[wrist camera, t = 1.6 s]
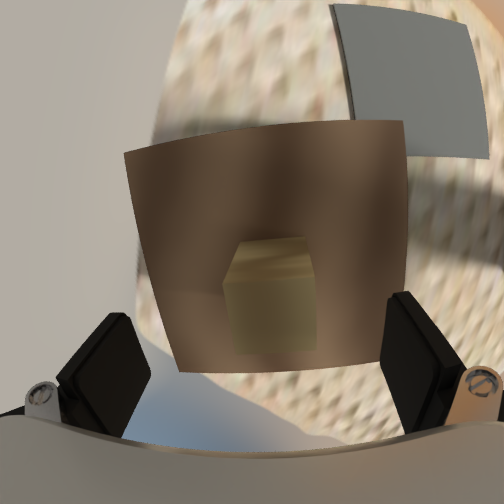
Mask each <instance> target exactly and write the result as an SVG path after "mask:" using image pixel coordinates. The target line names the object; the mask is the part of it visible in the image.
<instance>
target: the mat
mask: <svg viewBox="0 0 504 504" xmlns="http://www.w3.org/2000/svg"><path fill="white" fill-rule="evenodd" d="M333 7H334V11H335V15H336V19H337V23H338V27H339V31H340V36H341V40H342V45H343V50H344V55H345V60H346V65H347V71H348V77H349V82H350V89H351V95H352V102H353V109H354V117H355V120H403V124H404V134H405V145H406V156H434V157H460V158H476V159H489V143H488V130H487V120H486V112H485V104H484V98H483V92H482V86H481V80H480V75H479V71H478V66H477V62H476V58H475V54H474V50H473V46H472V42H471V39H470V35H469V32H468V29H467V26H466V25H465V24H461V23H458V22H455V21H451V20H447V19H443V18H439V17H435V16H431V15H426V14H422V13H417V12H411V11H406V10H400V9H393V8H386V7H377V6H367V5H354V4H333Z"/></svg>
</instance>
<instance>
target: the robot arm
mask: <svg viewBox="0 0 504 504" xmlns="http://www.w3.org/2000/svg"><path fill="white" fill-rule="evenodd" d="M380 366H381V369H382V371H383V374H384V377H385V379H386V382H387V384H388V387H389V390H390V392H391V395H392V398H393V401H394V403H395V406H396V409H397V412H398V415H399V418H400V420H401V423H402V426H403V429H404V432H405V435H401V436H397V437H393V438H388V439H383V440H378V441H372V442H366V443H360V444H354V445H347V446H340V447H333V448H324V449H315V450H303V451H288V452H287V451H286V452H221V451H205V450H193V449H184V448H176V447H168V446H161V445H155V444H148V443H142V442H136V441H131V440H127V439H122V438H121V437H122V435H123V433H124V430H125V428H126V427H127V425H128V422H129V420H130V418H131V416H132V414H133V412H134V409H135V408H136V406H137V404H138V402H139V400H140V398H141V396H142V394H143V392H144V389H145V387H146V385H147V383H148V381H149V379H150V377H151V370H150V367H149V365H148V363H147V360H146V358H145V355H144V353H143V350H142V348H141V345H140V343H139V340H138V338H137V335H136V332H135V329H134V327H133V324H132V321H131V319H130V317H128V316H127V315H126V314H125V313H110V314H108V316H107V317H106V318H105V319H104V320H103V321H102V322H101V323H100V325H99V326H98V327H97V328H96V329H95V331H94V332H93V333H92V334H91V335H90V336H89V337H88V339H87V340H86V341H85V342H84V343H83V344H82V346H81V347H80V348H79V349H78V350H77V352H76V353H75V354H74V355H73V356H72V358H71V359H70V360H69V361H68V363H67V364H66V365H65V366H64V367H63V369H62V370H61V371H60V372H59V374H58V375H57V376H56V379H57V381H58V382H59V384H60V385H59V386H58V387H57V386H56V385H55V384H54V383H52V382H47V381H46V382H41V383H38V384H36V385H35V386H33V387H32V388H31V389H30V390H29V391H28V393H27V395H26V398H25V405H24V406H22V407H19V408H16V409H14V410H11V411H9V412H6V413H3V414H0V504H504V390H503V382H502V379H501V377H500V376H499V374H498V373H497V372H496V371H494V370H493V369H491V368H488V367H486V366H473V367H471V368H469V369H467V368H466V367H465V365H464V364H463V362H462V361H461V360H460V358H459V357H458V355H457V354H456V352H455V351H454V349H453V348H452V347H451V345H450V344H449V342H448V341H447V340H446V338H445V337H444V335H443V334H442V333H441V331H440V330H439V329H438V327H437V326H436V325H435V324H434V323H433V321H432V320H431V319H430V317H429V316H428V315H427V313H426V312H425V311H424V309H423V308H422V307H421V306H420V304H419V303H418V302H417V300H416V299H415V298H414V297H413V295H412V294H411V293H410V292H409V291H403V292H396V293H393V294H392V297H391V298H388V300H387V307H386V316H385V324H384V332H383V339H382V346H381V353H380Z"/></svg>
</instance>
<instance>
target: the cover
mask: <svg viewBox="0 0 504 504" xmlns="http://www.w3.org/2000/svg"><path fill="white" fill-rule="evenodd" d="M124 158H125V165H126V171H127V177H128V183H129V188H130V194H131V199H132V204H133V209H134V214H135V219H136V224H137V228H138V233H139V237H140V241H141V246H142V250H143V254H144V258H145V262H146V266H147V270H148V274H149V277H150V281H151V285H152V288H153V292H154V295H155V299H156V302H157V306H158V309H159V312H160V316H161V319H162V322H163V325H164V328H165V331H166V335H167V338H168V341H169V344H170V347H171V350H172V352H173V355H174V358H175V361H176V364H177V366H178V369H179V372H193V373H264V372H285V371H300V370H313V369H324V368H333V367H342V366H350V365H358V364H365V363H372V362H379V361H380V353H381V346H382V339H383V332H384V324H385V316H386V307H387V300H388V298H391V297H392V294H393V293H396V292H403V291H404V281H405V270H406V256H407V236H408V178H407V158H406V145H405V134H404V124H403V120H334V121H315V122H300V123H289V124H278V125H269V126H260V127H252V128H244V129H237V130H230V131H224V132H218V133H212V134H206V135H201V136H195V137H190V138H185V139H180V140H175V141H171V142H166V143H162V144H157V145H153V146H149V147H145V148H141V149H137V150H133V151H129V152H125V153H124Z"/></svg>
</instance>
